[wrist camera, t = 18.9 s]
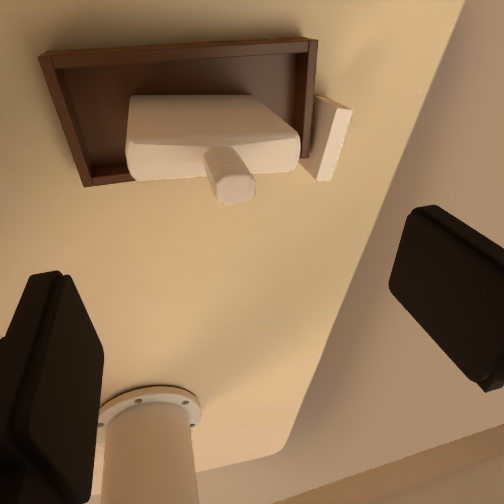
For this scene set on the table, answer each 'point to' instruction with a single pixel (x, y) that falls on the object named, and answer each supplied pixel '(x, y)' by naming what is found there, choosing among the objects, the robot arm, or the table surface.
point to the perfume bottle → (208, 141)
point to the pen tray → (171, 90)
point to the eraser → (326, 137)
